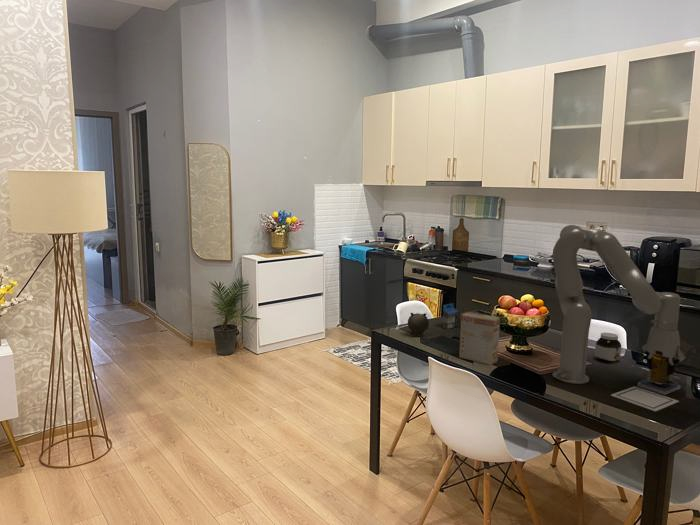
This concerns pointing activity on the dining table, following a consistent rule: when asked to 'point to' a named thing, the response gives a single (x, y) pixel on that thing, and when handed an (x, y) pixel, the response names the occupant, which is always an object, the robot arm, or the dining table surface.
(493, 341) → the coffeecake box
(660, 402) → the marked sheet
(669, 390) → the ink pad
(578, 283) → the robot arm
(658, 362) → the condiment
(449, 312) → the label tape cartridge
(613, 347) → the spread jar
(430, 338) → the dining table surface
